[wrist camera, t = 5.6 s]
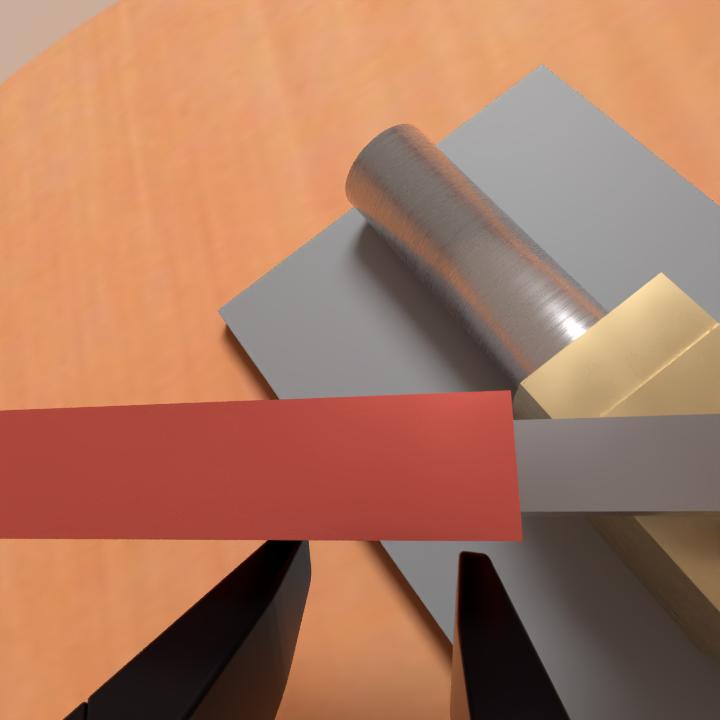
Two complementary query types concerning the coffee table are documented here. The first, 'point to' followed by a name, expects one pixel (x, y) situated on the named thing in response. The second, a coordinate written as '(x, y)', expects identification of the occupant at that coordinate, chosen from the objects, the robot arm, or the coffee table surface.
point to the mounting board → (480, 373)
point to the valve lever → (342, 469)
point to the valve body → (558, 344)
